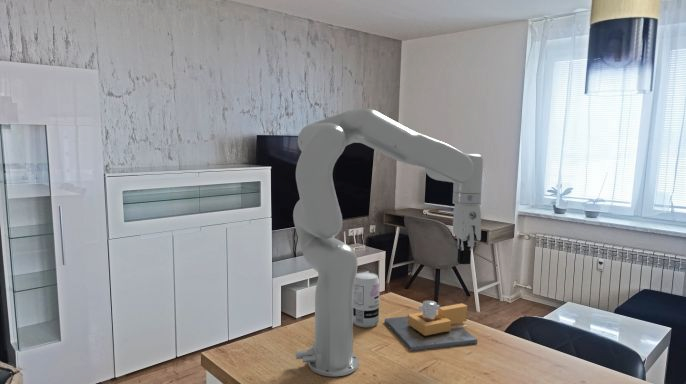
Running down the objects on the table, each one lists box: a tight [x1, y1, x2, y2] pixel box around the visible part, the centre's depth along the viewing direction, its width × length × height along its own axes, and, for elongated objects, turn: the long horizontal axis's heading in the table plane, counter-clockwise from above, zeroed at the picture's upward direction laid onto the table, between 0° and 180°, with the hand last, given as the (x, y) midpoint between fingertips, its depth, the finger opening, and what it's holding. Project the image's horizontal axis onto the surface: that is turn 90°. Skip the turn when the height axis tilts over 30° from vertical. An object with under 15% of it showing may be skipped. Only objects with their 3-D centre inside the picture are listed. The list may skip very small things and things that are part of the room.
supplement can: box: [353, 271, 381, 329], centre depth 142 cm, size 8×8×15 cm
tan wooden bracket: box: [407, 303, 468, 336], centre depth 138 cm, size 9×18×5 cm, turn 115°
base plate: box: [384, 300, 478, 352], centre depth 136 cm, size 22×20×9 cm
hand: (463, 263), depth 130 cm, fingers closed
